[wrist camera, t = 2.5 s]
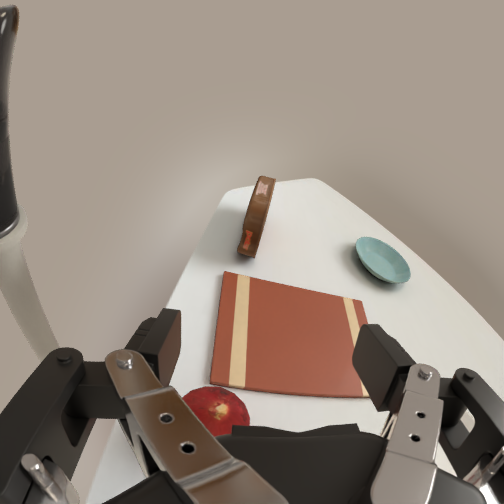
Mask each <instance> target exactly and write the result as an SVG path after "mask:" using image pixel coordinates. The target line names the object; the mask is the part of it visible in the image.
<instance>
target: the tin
mask: <svg viewBox="0 0 504 504" xmlns="http://www.w3.org/2000/svg"><path fill="white" fill-rule="evenodd" d="M275 181H276V179H272V178H269V177H265V176H260V177H259V178H258V181H257V183H256V186H255V188H254V191H253V194H252V197H251V199H250V202H249V205H248V209H247V212H246V216H245V220H244V224H243V233H242V237H241V241H240V244H239V246H238V248H237V252H239V253H241V254H244V255H248V256H251V257H253V258H255V255H256V252H257V249H258V246H259V242H260V239H261V235H262V232H263V228H264V225H265V221H266V217H267V214H268V210H269V206H270V202H271V198H272V194H273V190H274V185H275Z"/></svg>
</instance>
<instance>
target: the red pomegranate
mask: <svg viewBox="0 0 504 504" xmlns="http://www.w3.org/2000/svg"><path fill="white" fill-rule="evenodd" d="M182 399H183V400H184V401H185V403H186V404H187V405H188V406H189V408H190V409H191V410H192V411H193V412H194V414H195V415H196V416H197V417H198V418H199V420H200V421H201V422H202V423H203V424H204V426H205V427H206V428H207V429H208V430H209V431H210V432H211V434H212V435H213V436H214V437H215V436H219V435H224V434H231V431H232V425H244V426H250V417H249V414H248V411H247V409H246V406H245V404H244V403H243V402H242V401H241V400H240V399H239V398H238V397H237V396H236V395H235V394H234V393H232V392H230V391H228V390H226V389H224V388H222V387H206V386H205V387H202V388H198V389H195V390H192V391H190V392H189V393H188V394H186V395H185V396H184V397H182Z"/></svg>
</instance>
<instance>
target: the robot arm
mask: <svg viewBox="0 0 504 504" xmlns="http://www.w3.org/2000/svg"><path fill="white" fill-rule="evenodd" d="M18 25H19V10H18V8H17V6H15V5H7V6H2V7H0V239H1V238H3V237H5V236H6V235H8V234H9V233H10V232H11V231H12V230H13V229H14V228H15V227H16V226H17V224H18V222H19V219H20V213H19V209H18V206H17V200H16V194H15V188H14V181H13V173H12V165H11V154H10V141H9V117H8V113H9V108H8V104H9V84H10V71H11V64H12V58H13V52H14V47H15V42H16V37H17V31H18ZM180 348H181V311H180V310H174V309H167V308H163V309H162V311H161V312H160V314H159V316H158V317H157V318H152V317H150V318H148V319H147V320H145V321H143V322H142V323H141V325H140V326H139V327H138V330H136V332H135V334H134V335H133V336H132V338H131V339H130V341H129V342H128V344H127V345H126V347H125V348H124V349H121V350H116V351H113V352H111V353H110V354H108V355H107V357H106V358H105V361H104V362H87V361H84V360H83V356H82V354H81V352H80V351H78V350H76V349H74V348H59V349H56V350H53V351H52V352H50V353H49V354H48V355H47V357H46V358H45V359H44V360H43V361H42V362H41V364H40V365H39V366H38V367H37V368H36V370H35V371H34V372H33V373H32V374H31V376H30V377H29V378H28V379H27V380H26V382H25V383H24V384H23V385H22V387H21V388H20V389H19V390H18V392H17V393H16V394H15V395H14V397H13V398H12V399H11V401H10V402H9V403H8V405H7V406H6V408H5V409H4V410H3V411H2V413H1V414H0V504H79V502H80V500H79V495H78V492H77V491H76V489H75V488H74V486H73V485H72V483H71V482H70V481H71V478H72V476H73V473H74V471H75V468H76V466H77V463H78V461H79V458H80V456H81V453H82V451H83V449H84V446H85V444H86V442H87V439H88V437H89V435H90V432H91V430H92V428H93V426H94V424H95V421H96V419H97V418H104V419H118V422H119V424H120V426H121V428H122V430H123V432H124V434H125V436H126V438H127V440H128V442H129V444H130V446H131V448H132V450H133V451H134V453H135V455H136V457H137V460H138V462H139V464H140V467H141V469H142V471H143V473H144V475H145V476H146V479H145V480H143V481H141V482H140V483H138V484H136V485H135V486H133V487H131V488H130V489H128V490H126V491H124V492H123V493H121V494H119V495H117V496H115V497H114V498H112V499H110V500H108V501H106V502H104V503H102V504H504V402H503V401H502V400H501V398H500V397H499V396H498V395H497V394H496V393H495V392H494V391H493V390H492V388H491V387H490V386H489V385H488V384H487V383H486V382H485V381H484V380H483V379H482V378H481V377H480V376H479V375H478V374H477V373H476V372H474V371H473V370H470V369H467V368H459V369H457V370H456V372H455V374H454V376H453V378H452V379H451V378H440V374H439V372H438V371H437V370H436V369H435V368H433V367H431V366H429V365H426V364H416V362H415V361H414V360H413V359H412V358H411V357H410V355H409V354H408V353H407V352H405V350H404V349H403V347H401V345H400V344H399V343H398V342H397V341H396V339H394V338H392V337H391V336H389V335H388V334H387V333H386V332H385V331H384V330H383V329H382V328H381V326H380V325H378V324H363V325H362V326H361V328H360V330H359V334H358V337H357V341H356V344H355V348H354V351H353V355H352V364H353V367H354V369H355V370H356V372H357V374H358V376H359V378H360V380H361V381H362V383H363V385H364V387H365V389H366V391H367V392H368V394H369V396H370V398H371V400H372V402H373V404H374V406H375V407H376V409H377V411H378V412H382V411H390V413H389V415H388V417H387V419H386V421H385V424H384V426H383V429H382V431H381V434H380V436H378V435H375V434H371V433H367V432H360V430H359V428H358V425H357V423H355V424H344V425H330V426H325V427H321V428H317V429H313V430H309V431H305V432H299V433H298V432H291V431H285V430H280V429H275V428H270V427H265V426H244V425H232V431H231V434H224V435H219V436H215V437H214V436H213V435H212V434H211V432H210V431H209V430H208V429H207V428H206V427H205V426H204V424H203V423H202V422H201V421H200V420H199V418H198V417H197V416H196V415H195V414H194V412H193V411H192V410H191V409H190V408H189V406H188V405H187V404H186V403H185V401H184V400H183V399H182V397H181V396H180V395H179V394H178V392H177V391H176V390H175V388H174V387H172V386H169V383H170V380H171V377H172V375H173V372H174V369H175V366H176V363H177V360H178V357H179V354H180ZM467 408H468V410H469V411H470V412H471V414H472V415H473V416H474V419H475V424H474V427H473V429H472V430H471V432H470V433H469V431H468V430H467V428H466V427H465V425H464V424H463V422H462V421H461V420H460V419H461V418H462V416H463V414H464V413H465V411H466V410H467ZM438 442H439V444H440V445H441V447H442V449H443V451H444V453H445V454H446V456H447V458H448V460H449V462H450V464H451V466H452V467H453V469H454V471H455V473H456V475H457V477H456V476H454V475H452V474H450V473H448V472H446V471H444V470H442V469H440V468H438V467H437V464H435V457H436V452H437V447H438Z"/></svg>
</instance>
